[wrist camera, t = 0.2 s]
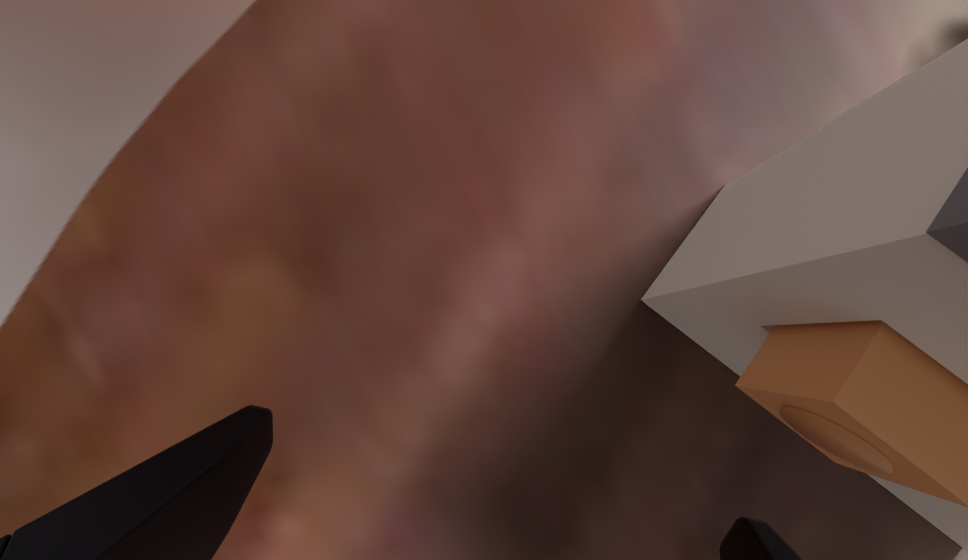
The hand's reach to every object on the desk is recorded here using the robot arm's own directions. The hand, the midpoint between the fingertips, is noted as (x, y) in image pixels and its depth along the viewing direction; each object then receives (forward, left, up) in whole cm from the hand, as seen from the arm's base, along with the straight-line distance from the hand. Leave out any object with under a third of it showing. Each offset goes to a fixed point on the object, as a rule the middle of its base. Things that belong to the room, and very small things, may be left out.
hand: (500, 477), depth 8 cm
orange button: (-3, -11, -7) cm, 14 cm away
